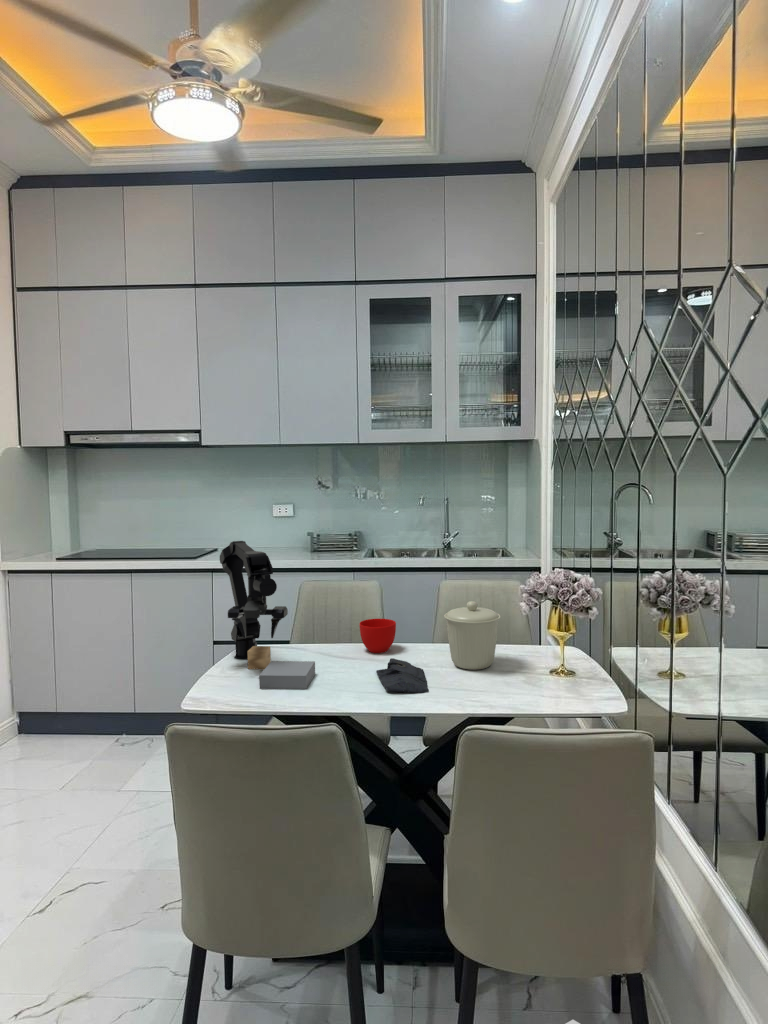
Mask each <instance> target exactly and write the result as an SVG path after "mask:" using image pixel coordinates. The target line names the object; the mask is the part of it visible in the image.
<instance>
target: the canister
mask: <svg viewBox="0 0 768 1024" xmlns="http://www.w3.org/2000/svg"><path fill="white" fill-rule="evenodd" d="M443 617H444V619H445V621H446V628H447V639H448V644H449V652H450V658H451V661H452V663H453V664H454V665H455V666H456V667H457V668H460V669H463V670H468V671H469V670H472V671H473V670H474V671H475V670H476V671H478V670H483V669H487V668H489V667H490V666H492V665H493V662H494V660H495V653H496V648H497V647H496V646H497V638H498V629H499V620H500V619H501V614H499V613H498V612H497V611H495V610H492V609H490V608H487V607H486V608H485V607H478V603H477V602H476V601H474V600H473V601H472V600H470V601H467V603H466V606H463V607H457V608H452V609H451V610H449V611H448V612H446V613H445V614H444V615H443Z"/></svg>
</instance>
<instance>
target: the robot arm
mask: <svg viewBox="0 0 768 1024" xmlns="http://www.w3.org/2000/svg"><path fill="white" fill-rule="evenodd" d="M269 557H270V556H269V555H267V553H266V552H264V551H257V550H254V549H253V548H252V547H250V545H248V544H247V543H246V541H245V540H234V541H230V542H229V545H227V546H225V547H224V548H223V549H222V550H221V552H220V554H219V563H220V564H221V567H222V571H224V573H226V574H227V575H228V577H229V582H230V587H231V591H232V592H231V593H232V597H233V601H234V605H233V606H232V607H231V608H229V609H228V610H227V619H231V621H233V627H232V629H231V631H230V637H231V640H232V641H233V642H235V644H234V645H235V656H234V657H233V658H234V659H241V660H242V659H247V660H248V653H247V651H248V650H249V649H250V648H252V647H253V646H258V642H257V641H256V639H259V638H260V635H261V623H260V621H259V618H260V617H261V616H271V617H272V618H271V619H270V621H271V628H270V629H271V630H270V631H271V632H270V638H271V639H273V638H274V637H275V633H276V630H277V627H278V625H279V623H280V621H282V619H284V618H286V616H288V613H289V611H288V608H287V606H285V605H284V606H282V605H279V606H278V605H277V606H276V605H275V606H274V607H273V608H268V604H267V597H271V596H272V595H274V594H275V593H276V591H277V588H278V584H277V582H276V580H274V579H273V578H271V575H273V573H274V572H273V570H274V568H273V566H272V562H271V560H270V558H269ZM244 569H245V572H246V576H247V589H248V592H247V589H246V584H245V579H244V574H243V570H244ZM247 593H248V594H247Z"/></svg>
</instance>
